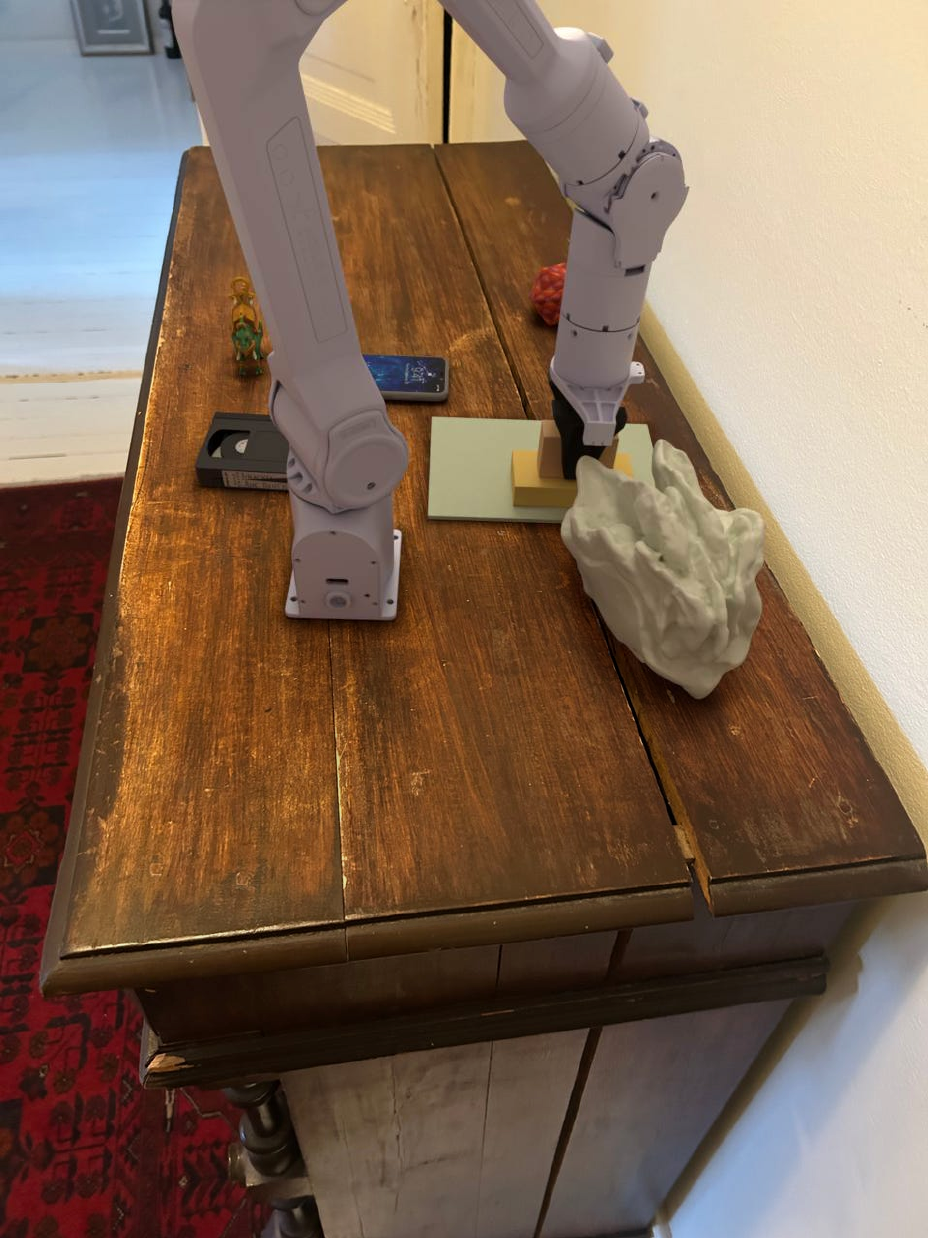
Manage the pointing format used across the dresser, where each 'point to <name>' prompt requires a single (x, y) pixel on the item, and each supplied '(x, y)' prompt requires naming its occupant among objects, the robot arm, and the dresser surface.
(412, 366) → the smartphone
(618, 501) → the wavy plaster lump
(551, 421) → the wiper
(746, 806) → the dresser surface
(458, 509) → the mat
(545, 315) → the red bumpy ball
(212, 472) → the vhs tape
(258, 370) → the figurine
